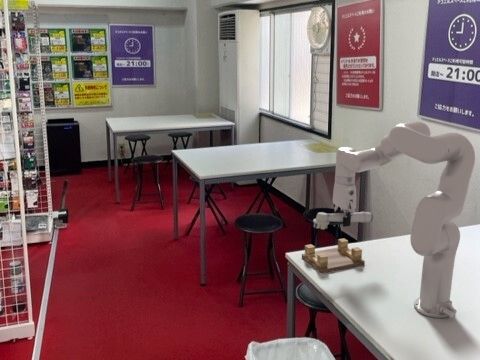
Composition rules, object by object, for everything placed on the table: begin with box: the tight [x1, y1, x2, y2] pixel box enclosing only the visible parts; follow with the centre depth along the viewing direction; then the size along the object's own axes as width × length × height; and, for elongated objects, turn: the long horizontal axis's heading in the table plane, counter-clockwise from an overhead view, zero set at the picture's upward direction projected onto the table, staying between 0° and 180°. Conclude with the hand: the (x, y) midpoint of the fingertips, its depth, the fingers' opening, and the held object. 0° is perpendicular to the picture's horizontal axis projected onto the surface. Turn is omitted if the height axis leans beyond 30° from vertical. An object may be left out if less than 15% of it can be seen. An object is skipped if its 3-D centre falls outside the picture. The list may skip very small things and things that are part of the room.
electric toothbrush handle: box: [312, 210, 374, 230], centre depth 201 cm, size 5×7×25 cm
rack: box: [301, 238, 366, 274], centre depth 209 cm, size 16×20×6 cm
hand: (342, 223), depth 201 cm, fingers closed on electric toothbrush handle, 5 cm apart
